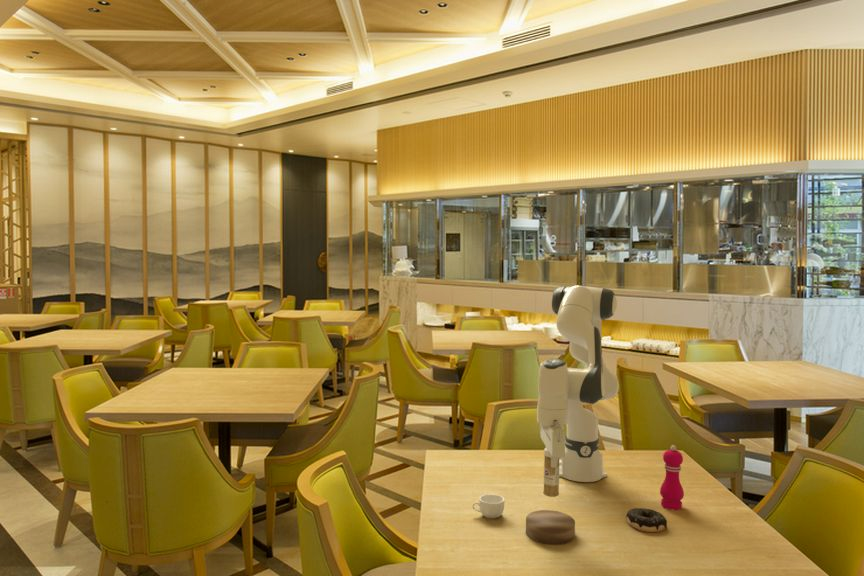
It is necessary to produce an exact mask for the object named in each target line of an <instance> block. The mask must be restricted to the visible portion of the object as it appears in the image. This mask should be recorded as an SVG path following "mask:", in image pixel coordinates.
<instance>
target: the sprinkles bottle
mask: <svg viewBox="0 0 864 576" xmlns="http://www.w3.org/2000/svg"><path fill="white" fill-rule="evenodd" d="M543 457H544V459H543V460H544V463H543V495H544V496H546V497H551V498H553V497H554V498H555V497H558V496H559V495H560V494H559V493H560V491H559V488H560V477H559V458H558V461H557V467H556V468H552V467H551V466H550V460H551V455H550V453H549V451H548V449H547V447H546V446H545V448H544V449H543Z"/></svg>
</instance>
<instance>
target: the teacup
mask: <svg viewBox="0 0 864 576" xmlns="http://www.w3.org/2000/svg"><path fill="white" fill-rule="evenodd" d="M505 500H506V499H505V498H504V496H502V495H501V494H500V495H499V494H496V493H487V494H482V495H480V496H479V498H478V501H475V502H473V503H472V509H473V510H474V511H475V512H478V513H481V514H482V515H483V516H484V517H485V518H487V519H491V518H492V519H497V518H500V517H501V516H502V515H503V513H504V510H505ZM475 505H478V507H479V509H477V508H475ZM492 519H491V520H492Z"/></svg>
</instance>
